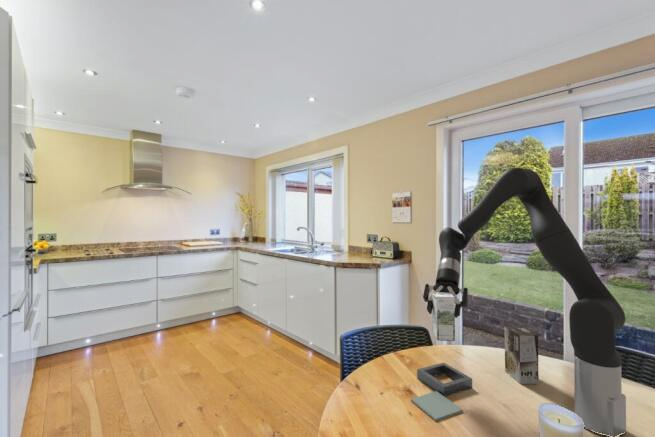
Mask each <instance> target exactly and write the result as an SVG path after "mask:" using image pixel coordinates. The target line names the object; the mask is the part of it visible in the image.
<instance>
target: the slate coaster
mask: <svg viewBox="0 0 655 437" xmlns="http://www.w3.org/2000/svg"><path fill="white" fill-rule="evenodd" d="M410 402H412V404H414V405H415V406H417V408H419V409H420V410H421V411H422V412H423V413H425V414H426V415H427V416H429V417H430V419H432V420H433V421H435V422H437V421H441V420H444V419H446V418H449V417H452V416H454V415H457V414H458V415H459V414H461V413H463V412H464V409H462V408H461V407H460V406H458V405H457V404H456V403H454V402H453V401H451V400H450V399H449V398H447V396H446V397H444V396H443V395H441V394H440V393H439V392H437V391H435V390H434V391H432V392H429V393H426V394H422V395H419V396H417V397H416V396H415V397H413V398H410Z"/></svg>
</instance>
